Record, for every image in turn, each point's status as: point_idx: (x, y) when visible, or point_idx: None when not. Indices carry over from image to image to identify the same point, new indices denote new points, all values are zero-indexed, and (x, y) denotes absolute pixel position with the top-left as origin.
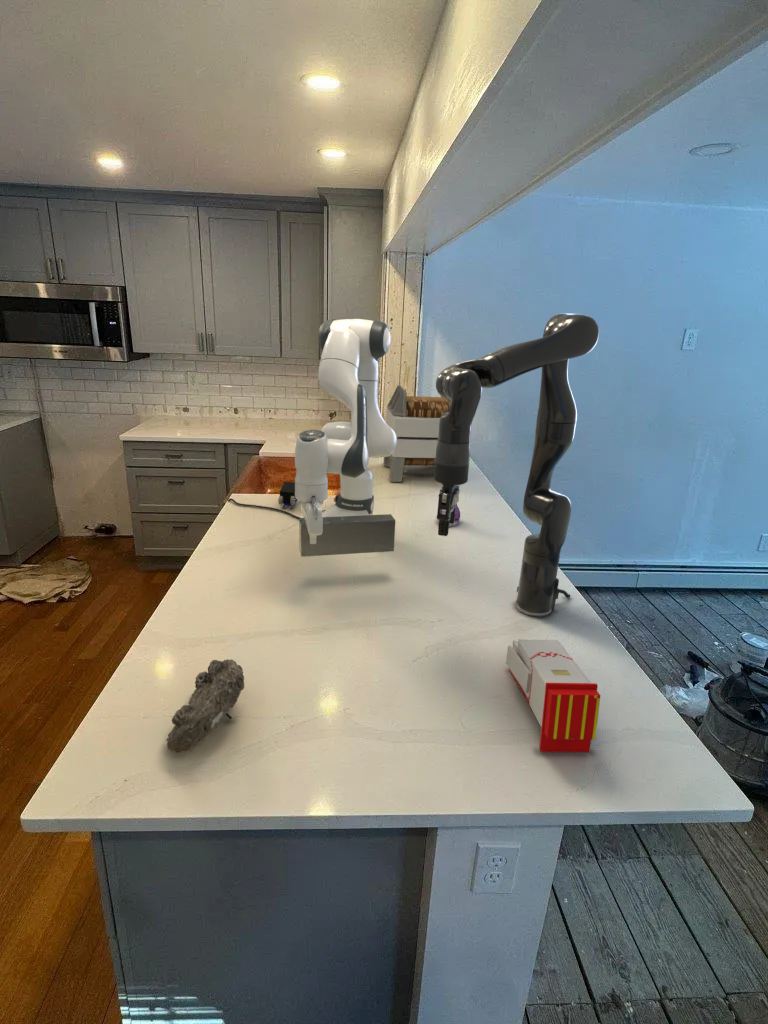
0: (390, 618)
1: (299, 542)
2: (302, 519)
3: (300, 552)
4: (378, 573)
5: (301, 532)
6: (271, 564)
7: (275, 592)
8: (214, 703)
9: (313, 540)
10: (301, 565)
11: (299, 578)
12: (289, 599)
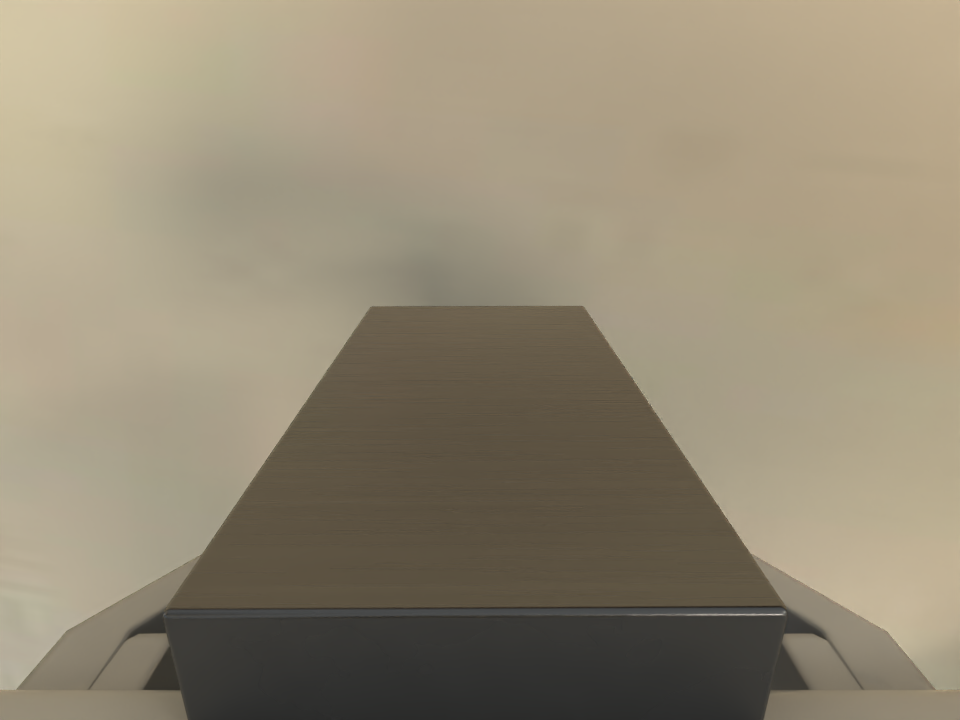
0: (30, 645)
1: (575, 337)
2: (642, 687)
3: (448, 311)
4: None
5: (262, 472)
6: (879, 29)
7: (351, 31)
8: None
9: None
10: (773, 283)
11: (558, 244)
12: (234, 137)
